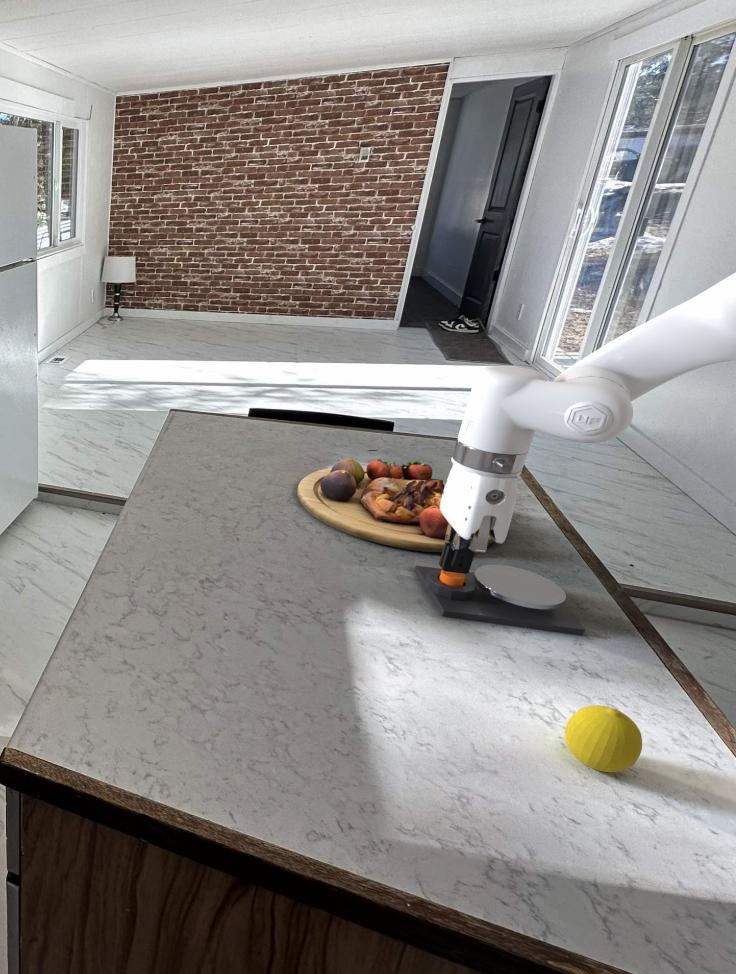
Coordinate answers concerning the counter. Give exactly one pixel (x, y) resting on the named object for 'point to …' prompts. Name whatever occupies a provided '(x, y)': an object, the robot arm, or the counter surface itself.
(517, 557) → the counter surface
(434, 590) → the scale
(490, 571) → the scale pan
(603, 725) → the lemon
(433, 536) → the wooden plate
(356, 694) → the counter surface
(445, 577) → the tare button
